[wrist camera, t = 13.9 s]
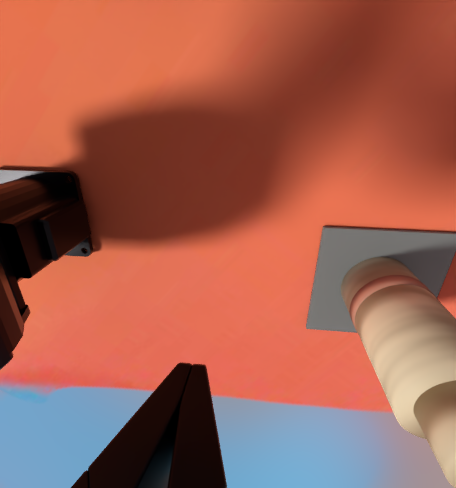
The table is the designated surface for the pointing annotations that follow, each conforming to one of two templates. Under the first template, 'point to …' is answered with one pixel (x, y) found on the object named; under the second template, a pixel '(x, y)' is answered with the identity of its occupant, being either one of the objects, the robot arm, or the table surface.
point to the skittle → (408, 350)
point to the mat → (365, 247)
